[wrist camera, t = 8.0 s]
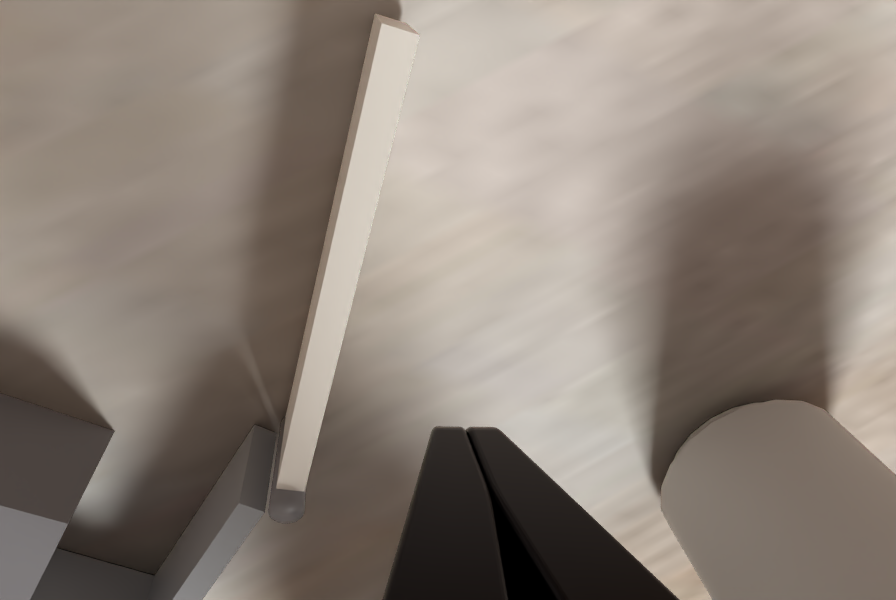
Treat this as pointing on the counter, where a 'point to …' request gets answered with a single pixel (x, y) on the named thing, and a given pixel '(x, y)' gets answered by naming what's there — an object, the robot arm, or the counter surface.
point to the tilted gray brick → (39, 486)
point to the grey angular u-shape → (196, 552)
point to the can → (783, 507)
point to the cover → (342, 256)
